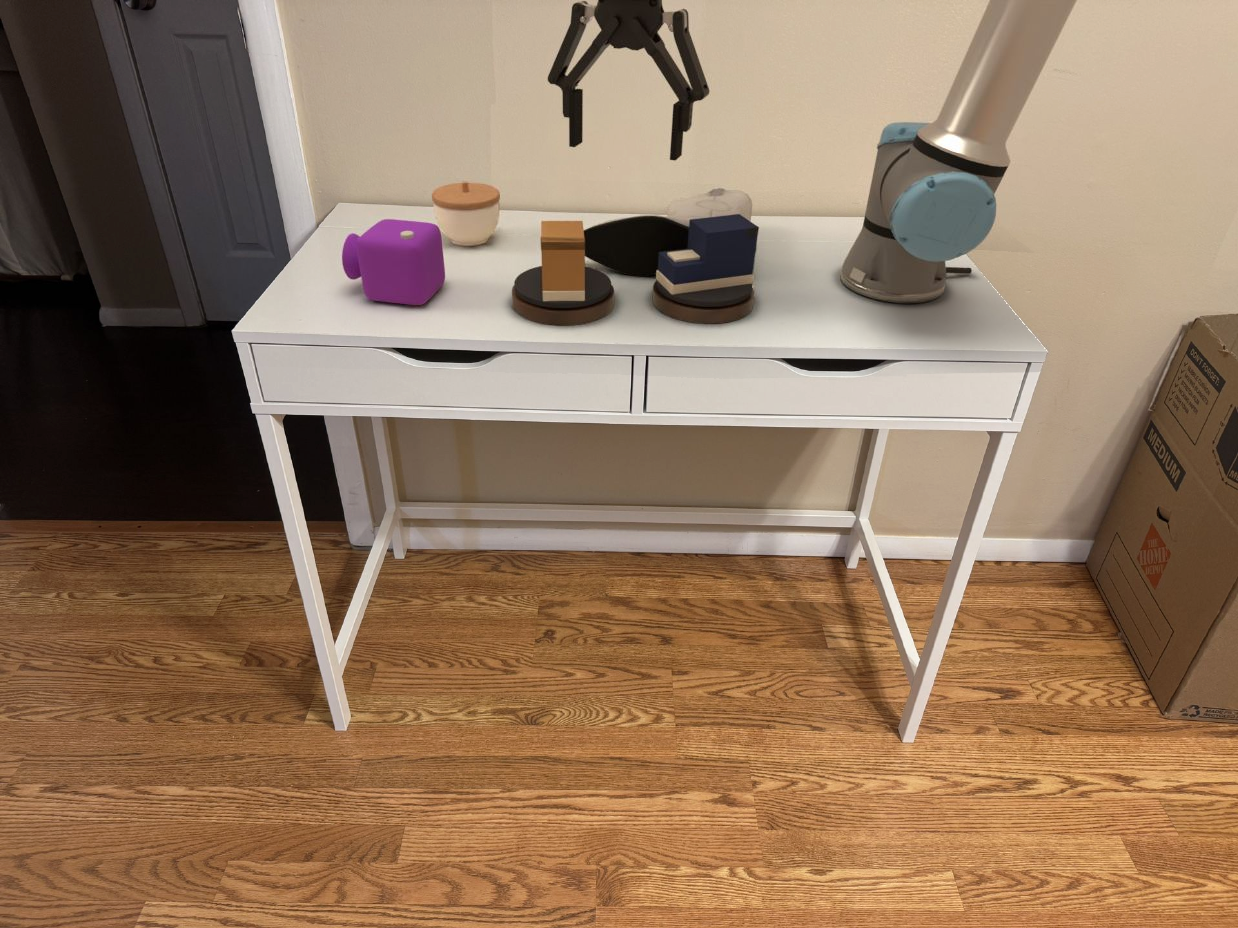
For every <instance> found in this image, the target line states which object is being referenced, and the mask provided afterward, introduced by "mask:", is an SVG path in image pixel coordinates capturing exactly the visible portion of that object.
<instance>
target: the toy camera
mask: <svg viewBox="0 0 1238 928" xmlns="http://www.w3.org/2000/svg"><path fill="white" fill-rule="evenodd" d="M441 232H442V231H441V229H440V227H439V225H438V224H435V223H432V222H427V221H415V220H404V219H394V218H386V219H381V220H380V221H378V222H376V223H375V224H374V225H372V226H371V227H370V228H368V229H367V230H366V231H365V232H363V233H362V234H361V235H359V234H356V233H353V232H352V233H349V235H348V236H346V238H345V241H344V243H343V246H342V252H341V264H342V268H343V271H344V274H345V275H346V277H347V278H348V279H349V280H358V279H360V278H361V285H362V289H363V293H364V295H365V297H366V298H367V299H368V300H372V301H376V302H382V303H390V304H391V303H392V304H402V305H409V306H410V305H411V306H420V305H424V304H426V303H427V302H428V301H429V300H430V299H431V298H432V297H433V296H434V295H435V293H436V292H437V291H438V290H439V289H440V288H441V287H442V286H443V284H444V283H445V281H446V268H445V259H444V248H443V239H442V233H441Z"/></svg>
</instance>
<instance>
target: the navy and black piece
mask: <svg viewBox="0 0 1238 928" xmlns="http://www.w3.org/2000/svg"><path fill="white" fill-rule="evenodd" d="M759 229H760V227H759V226H758V225H757V224H754V222H752V221H749V220H747V219H746V218H745V217H743V216H742V215H740V214H734V215H726V216H717V217H708V218H699V219H690V222H689V235H688V249H681V250H673V251H665V252H659V256H658V270H657V271H656V274H655V281H656V286H657V289H658V291H659V292H660V293H661V294H662V295H664V296H665V297H667V298H669V299H671V300H673V301H676V302H679V303H683V304H687V305H692V306H700V307H720V306H728V305H733V304H736V303H739V302H742V301H744V300H745V299H747V298H748V297H749V296H750V294H751V292H752V287H753V284H754V279H755V278H754V277H755V274H754V266H755V261H756V254H755V252H756V253H757V250H756V244H757V245H758V236H759Z"/></svg>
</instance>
